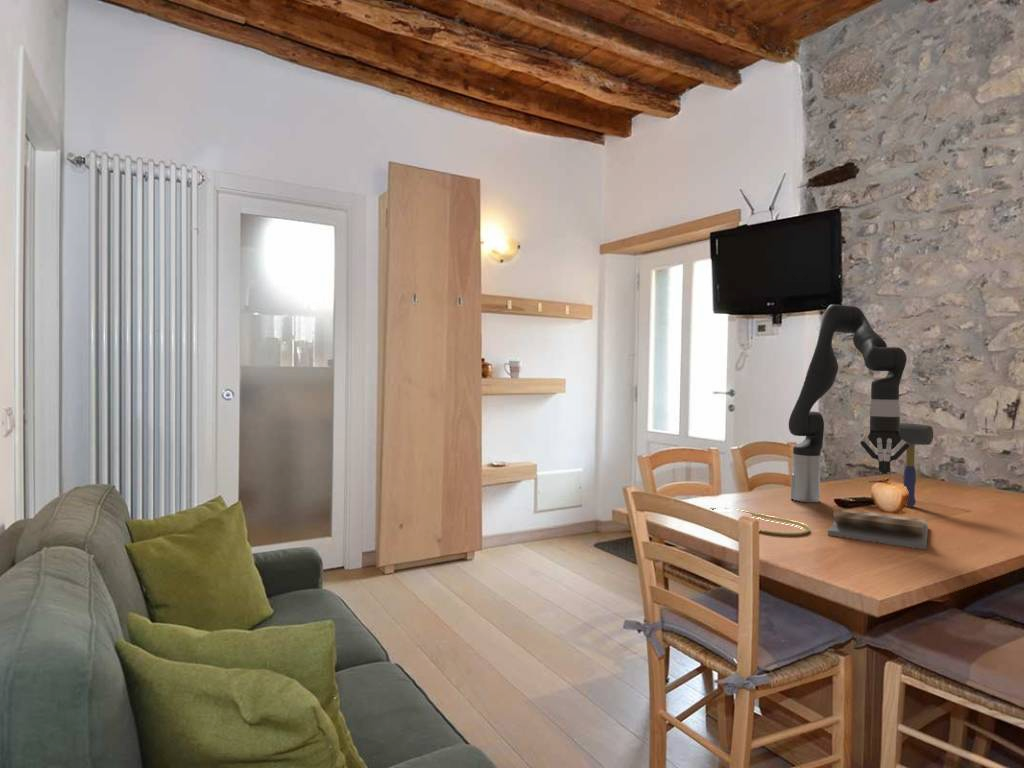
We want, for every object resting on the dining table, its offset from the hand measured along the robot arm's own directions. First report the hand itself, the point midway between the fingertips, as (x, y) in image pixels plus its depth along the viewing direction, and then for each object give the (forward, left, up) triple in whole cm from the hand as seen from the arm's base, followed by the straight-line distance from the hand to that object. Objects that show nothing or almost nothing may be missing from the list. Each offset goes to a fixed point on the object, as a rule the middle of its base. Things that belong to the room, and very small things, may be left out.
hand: (884, 473), depth 179 cm
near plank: (-1, -4, -15) cm, 15 cm away
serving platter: (-35, -8, -19) cm, 41 cm away
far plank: (-1, +13, -17) cm, 21 cm away
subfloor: (-1, +5, -18) cm, 19 cm away
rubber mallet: (+5, +52, -19) cm, 55 cm away
